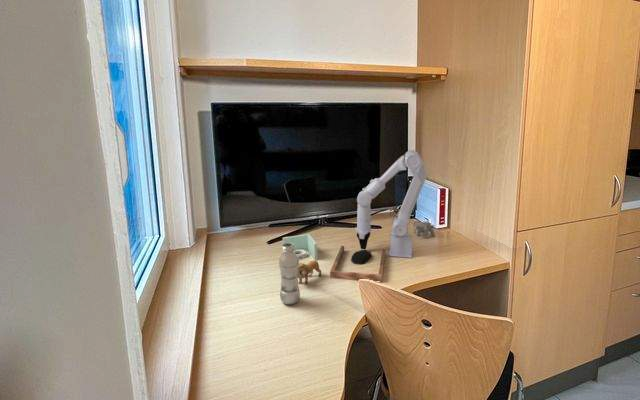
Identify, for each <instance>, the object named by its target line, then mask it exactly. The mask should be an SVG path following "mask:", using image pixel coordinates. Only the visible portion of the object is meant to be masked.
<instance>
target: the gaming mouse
mask: <svg viewBox="0 0 640 400" xmlns="http://www.w3.org/2000/svg"><path fill="white" fill-rule="evenodd" d="M372 257H373V255H372V251H368V250H367V249H360V250H358V251H355V252H354V253H352V255H351V259H350V261H351V262H352V263H353V264H356V265H357V264H358V265H359V264H360V265H363V264H366V263H367V262H368V261H370V260H371V259H372Z"/></svg>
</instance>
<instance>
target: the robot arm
mask: <svg viewBox="0 0 640 400" xmlns="http://www.w3.org/2000/svg"><path fill="white" fill-rule="evenodd" d="M407 169H408V170H409V171H410V172H411V174H412V179H411V182H410V184H409V186H408V189H407V192H406V195H405V197H404V198H403V201H402V204H401V207H400V209H399V210H398V212H397V214H396V216H394V217H393V218H392V220H391V226H392V227H391V231H390V247H389V248H388V257H396V258H406V259H407V258H409V259H410V258H413V252H414V247H413V245H414V244H413V242H414V241H413V240H414V239H413V238H414V237H413V236H414V235H413V234H410V233H409V232H408V231H409V230H408V229H409V226H408V225H409V223H410V218H411V215H412V213H413V210H414V207H416V206H415V205H416V203H417V202H418V201H417V200H418V199H419V195H420V194H421V192H422V189H423V186H424V184H425V182H426V179H427V177H428V176H427V171H426V166H425V161H424V160H423V158H422V156H421V155H420V154H419V152H418V151H417V150H414V149H411V150H408V151H406V152H405V153H404V155H401V156H400V157H398V158H397V160H396V161H395V162H394V163H393V164H392V165H391V166H390V167H388V169H387V170H386V171H385V172H384V173H383V174H382V175H381V176H380V177H375V178H374V179H373V178H371V180H369V184H368V185H367V186H365V187H363V188H362V190H361V191H359V193H358V195H357V196H356V197H357V198H356V202H357V209H356V210H357V211H356V214H357V216H356V227H354V228H353V229H354V231H356V237H357V239H358V241H359V245H360V246H359V247H360V250H367V246H368V242H369V241H368V240H369V238H370V237H371V231H372V229H371V227H372V225H371V221H372V219H371V218H372V217H371V215H372V214H371V213H372V209H371V203H372V200H373V199H375V198H376V197H377V196H379V194H380V193H381V192H383V191H384V190H385V189H386V184H387V183H388V182H389V181H390V180H391V179H392V178H394V176H396V175H397V174H398V173H399V172H400V171H407Z"/></svg>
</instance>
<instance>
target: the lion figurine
mask: <svg viewBox="0 0 640 400" xmlns="http://www.w3.org/2000/svg"><path fill="white" fill-rule="evenodd" d="M314 270H315V271H316V272H318V277H322V270H321V269H320V265H319V262H318V260H310V261H309V262H308V263H307V264H305V263H304V262H303V263H302V262H299V266H298V279H299V280H298V285H302V283H303V279H304V285H305V286H308V285H309V281H308V280H309V278H311V277H312V275H313V273H314Z"/></svg>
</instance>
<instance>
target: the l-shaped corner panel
mask: <svg viewBox="0 0 640 400" xmlns="http://www.w3.org/2000/svg"><path fill="white" fill-rule="evenodd" d="M286 243H291V244H293V245H294V253H295V254H296V255H297V257H298V259H299V260H303V259H305V258H307V256H308V253H309V254H310V256H311V257H312V258H313V261H318V243H317V241H315V239H313V237H312V236H311V234H310V233H307V234H300V235H293V236H292V235H291V236H285V237H282V245H283V244H286ZM307 251H308V253H307Z"/></svg>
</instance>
